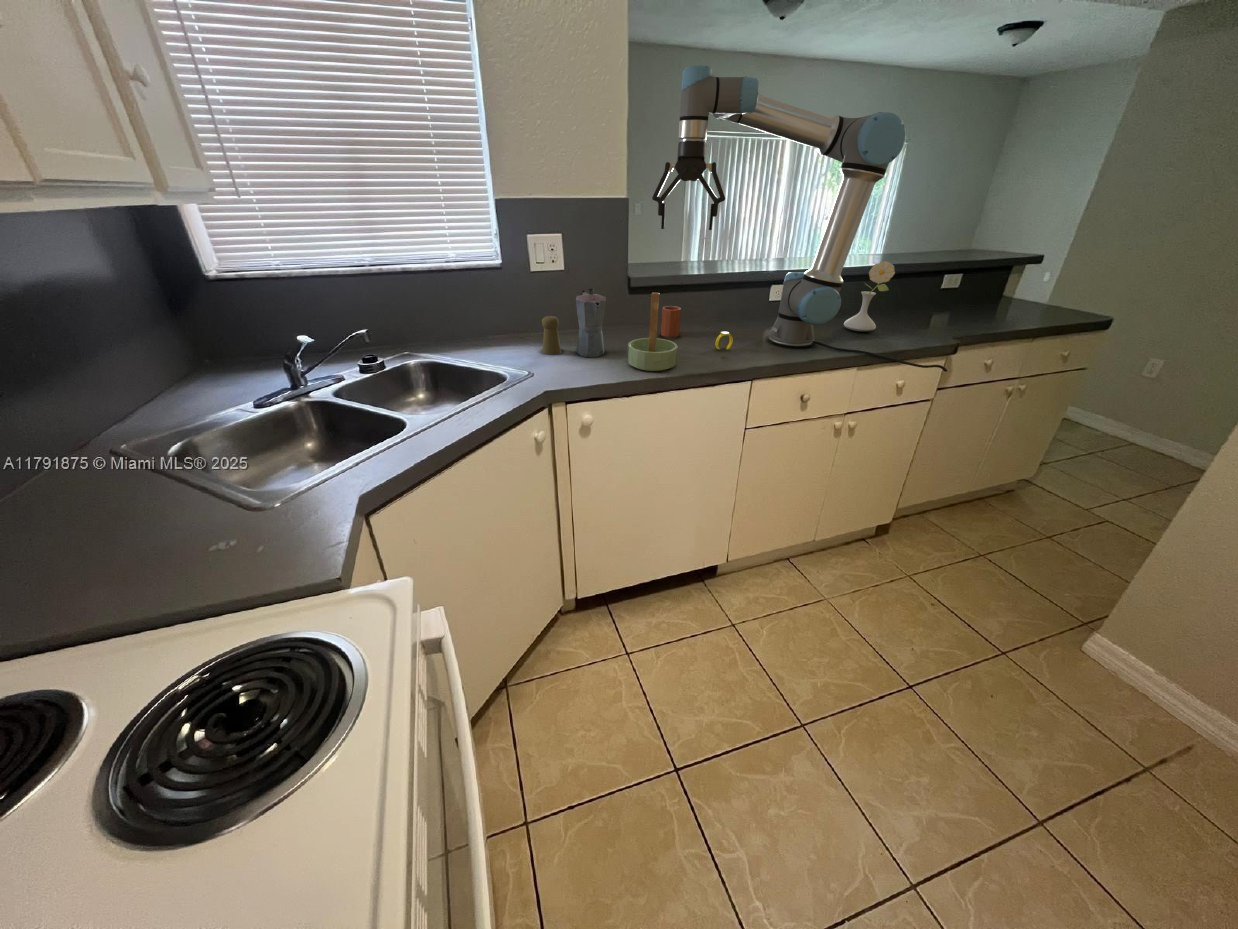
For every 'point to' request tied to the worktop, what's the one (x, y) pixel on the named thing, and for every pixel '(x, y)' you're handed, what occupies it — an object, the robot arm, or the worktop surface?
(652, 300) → the stirring stick
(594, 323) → the moka pot
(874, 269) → the flower in vase
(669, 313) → the utensil pot
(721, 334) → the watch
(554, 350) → the olive pepper grinder
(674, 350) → the bowl
